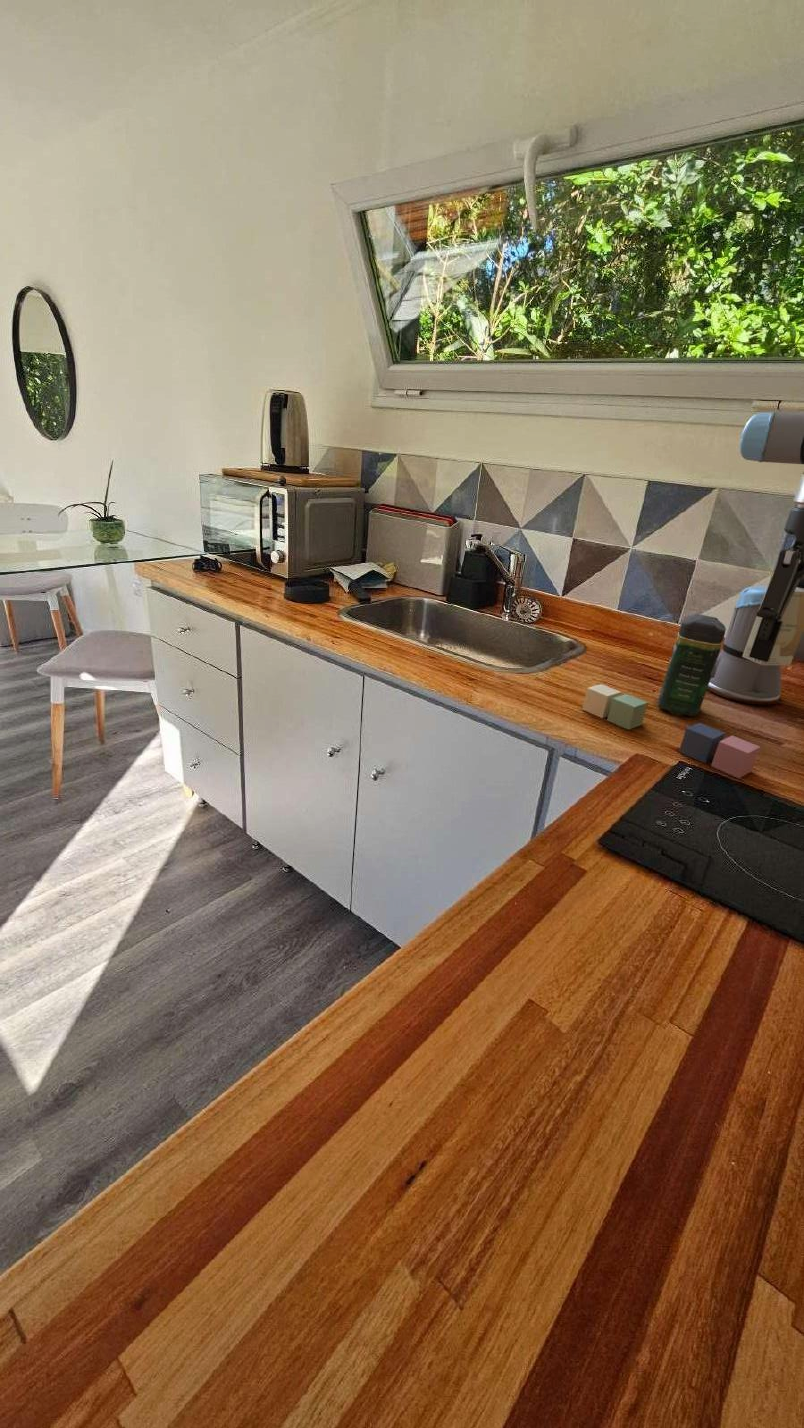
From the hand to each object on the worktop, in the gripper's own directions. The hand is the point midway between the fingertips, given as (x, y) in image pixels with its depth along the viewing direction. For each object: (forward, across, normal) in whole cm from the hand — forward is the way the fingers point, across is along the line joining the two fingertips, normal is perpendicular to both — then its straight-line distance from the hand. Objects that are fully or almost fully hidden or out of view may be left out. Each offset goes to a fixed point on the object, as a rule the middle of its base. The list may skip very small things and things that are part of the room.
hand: (768, 655), depth 97 cm
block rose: (+17, -10, -3) cm, 20 cm away
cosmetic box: (+1, 0, 0) cm, 1 cm away
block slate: (+17, -10, +2) cm, 19 cm away
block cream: (+17, -10, +22) cm, 29 cm away
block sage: (+17, -10, +16) cm, 25 cm away
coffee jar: (+17, +7, +14) cm, 23 cm away
